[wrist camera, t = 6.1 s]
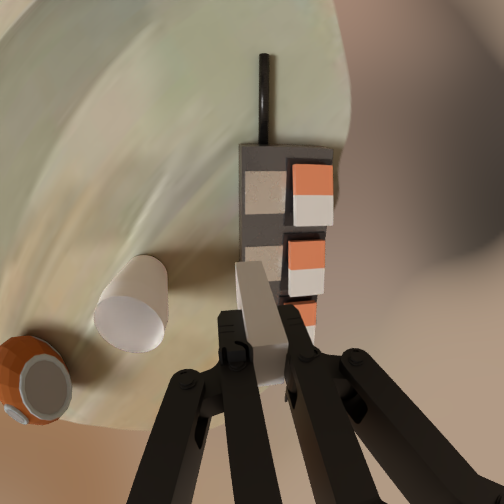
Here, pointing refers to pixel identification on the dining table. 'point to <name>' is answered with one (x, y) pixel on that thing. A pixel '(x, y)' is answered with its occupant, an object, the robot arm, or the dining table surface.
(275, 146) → the power strip
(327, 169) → the rocker
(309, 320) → the rocker
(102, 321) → the cup
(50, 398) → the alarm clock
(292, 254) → the rocker
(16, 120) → the dining table surface
